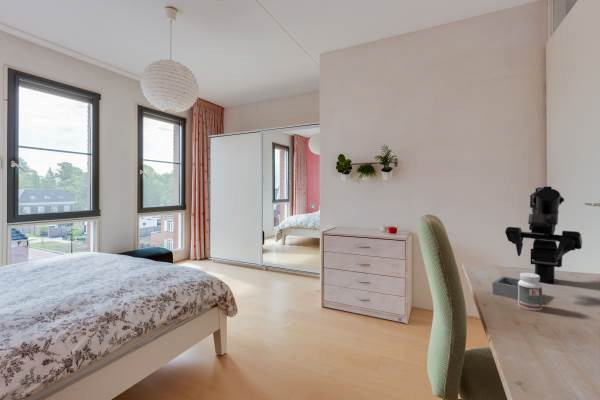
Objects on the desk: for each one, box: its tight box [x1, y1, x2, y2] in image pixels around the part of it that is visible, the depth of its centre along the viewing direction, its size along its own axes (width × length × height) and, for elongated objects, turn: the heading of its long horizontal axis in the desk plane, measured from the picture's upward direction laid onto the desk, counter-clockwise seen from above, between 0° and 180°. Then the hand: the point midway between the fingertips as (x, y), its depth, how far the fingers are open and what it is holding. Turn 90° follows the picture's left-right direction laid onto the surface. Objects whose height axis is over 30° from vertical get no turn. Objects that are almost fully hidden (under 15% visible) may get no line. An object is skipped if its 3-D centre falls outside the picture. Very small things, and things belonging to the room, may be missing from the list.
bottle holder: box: [492, 275, 521, 300], centre depth 95 cm, size 10×10×4 cm
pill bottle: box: [517, 272, 543, 311], centre depth 85 cm, size 6×6×10 cm
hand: (536, 257), depth 89 cm, fingers open, 9 cm apart
